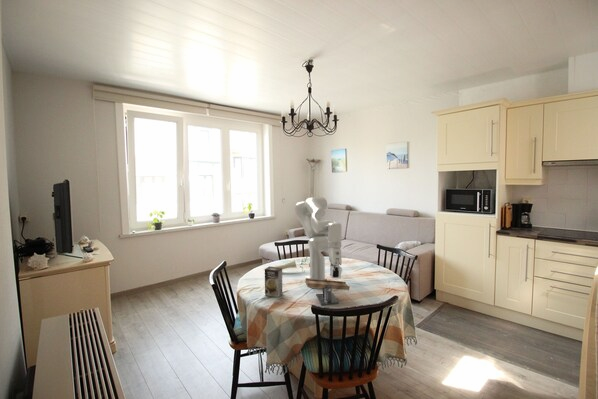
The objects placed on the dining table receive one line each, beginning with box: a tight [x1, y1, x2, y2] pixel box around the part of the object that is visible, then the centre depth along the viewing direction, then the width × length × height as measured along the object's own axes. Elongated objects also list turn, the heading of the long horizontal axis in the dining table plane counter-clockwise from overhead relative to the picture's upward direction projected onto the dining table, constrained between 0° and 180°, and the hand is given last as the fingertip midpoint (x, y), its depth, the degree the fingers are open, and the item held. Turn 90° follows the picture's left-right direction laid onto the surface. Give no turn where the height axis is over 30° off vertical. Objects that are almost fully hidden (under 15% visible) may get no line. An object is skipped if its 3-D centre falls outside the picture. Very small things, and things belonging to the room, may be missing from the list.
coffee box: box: [264, 266, 283, 298], centre depth 171 cm, size 9×6×16 cm
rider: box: [329, 264, 343, 280], centre depth 163 cm, size 5×4×6 cm
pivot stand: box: [315, 278, 340, 306], centre depth 163 cm, size 10×13×10 cm
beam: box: [304, 279, 350, 291], centre depth 163 cm, size 24×8×2 cm, turn 99°
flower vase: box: [271, 256, 310, 272], centre depth 211 cm, size 12×12×35 cm
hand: (334, 275), depth 163 cm, fingers closed on rider, 4 cm apart
